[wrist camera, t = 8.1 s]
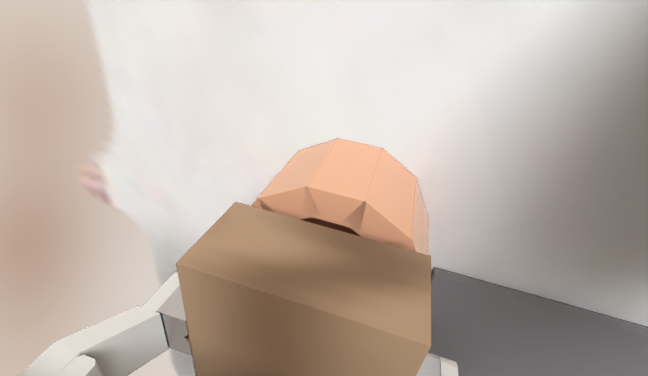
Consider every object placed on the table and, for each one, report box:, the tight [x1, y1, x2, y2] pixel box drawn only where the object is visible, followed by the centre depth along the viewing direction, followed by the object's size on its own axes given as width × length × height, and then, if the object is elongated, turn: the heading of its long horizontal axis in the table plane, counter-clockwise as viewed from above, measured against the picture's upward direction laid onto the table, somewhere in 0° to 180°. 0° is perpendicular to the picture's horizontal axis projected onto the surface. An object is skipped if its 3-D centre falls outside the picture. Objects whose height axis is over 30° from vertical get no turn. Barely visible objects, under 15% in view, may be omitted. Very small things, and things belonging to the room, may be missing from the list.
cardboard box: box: [176, 202, 431, 376], centre depth 11 cm, size 6×6×3 cm
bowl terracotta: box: [252, 138, 428, 255], centre depth 14 cm, size 8×8×4 cm
